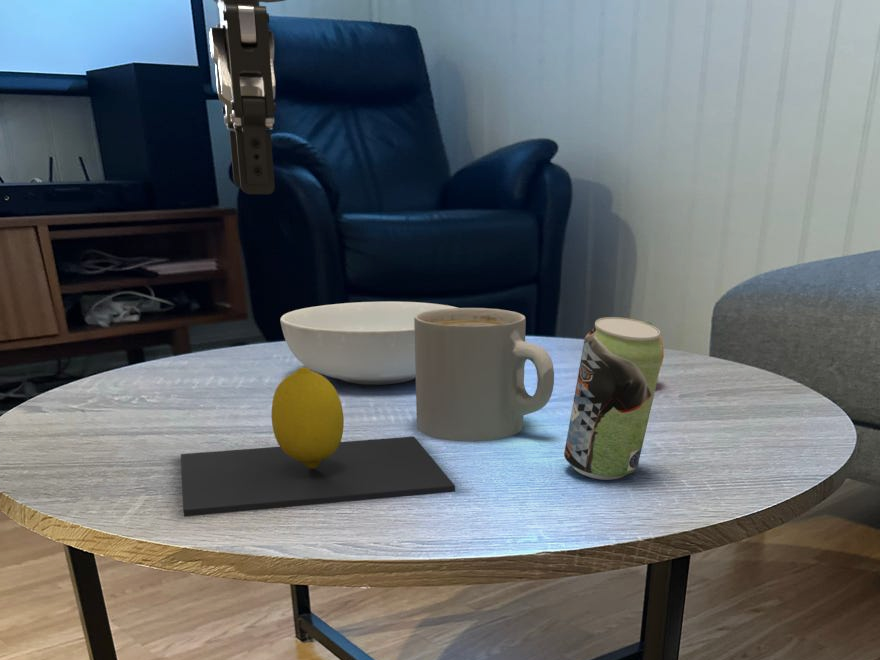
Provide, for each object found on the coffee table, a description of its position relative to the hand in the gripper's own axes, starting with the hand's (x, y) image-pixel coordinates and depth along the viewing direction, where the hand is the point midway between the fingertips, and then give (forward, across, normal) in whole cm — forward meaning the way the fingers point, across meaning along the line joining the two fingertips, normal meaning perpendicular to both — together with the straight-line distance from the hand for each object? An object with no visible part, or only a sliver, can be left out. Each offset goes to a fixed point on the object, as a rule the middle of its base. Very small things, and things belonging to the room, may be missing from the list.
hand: (253, 190), depth 67 cm
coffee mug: (+20, -7, +20) cm, 29 cm away
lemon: (+20, +2, +3) cm, 20 cm away
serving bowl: (+21, -32, +14) cm, 41 cm away
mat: (+21, +2, +3) cm, 21 cm away
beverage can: (+20, +8, +26) cm, 34 cm away
